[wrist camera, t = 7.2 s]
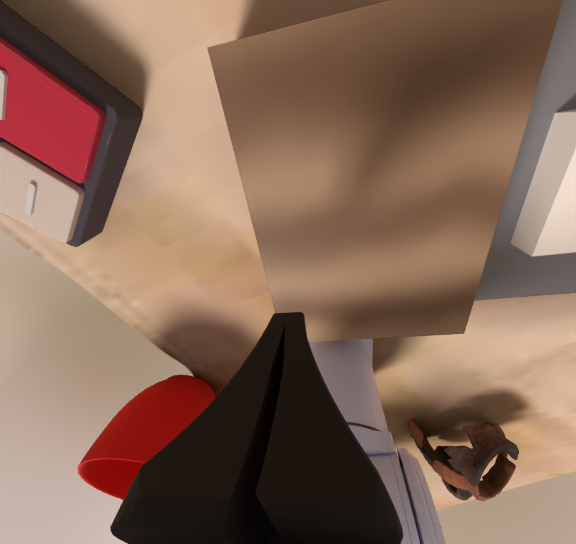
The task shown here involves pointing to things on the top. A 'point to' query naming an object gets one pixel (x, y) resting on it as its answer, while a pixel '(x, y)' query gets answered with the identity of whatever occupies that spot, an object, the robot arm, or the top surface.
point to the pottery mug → (471, 461)
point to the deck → (382, 155)
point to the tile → (551, 194)
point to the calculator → (58, 135)
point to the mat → (502, 255)
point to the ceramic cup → (143, 432)
